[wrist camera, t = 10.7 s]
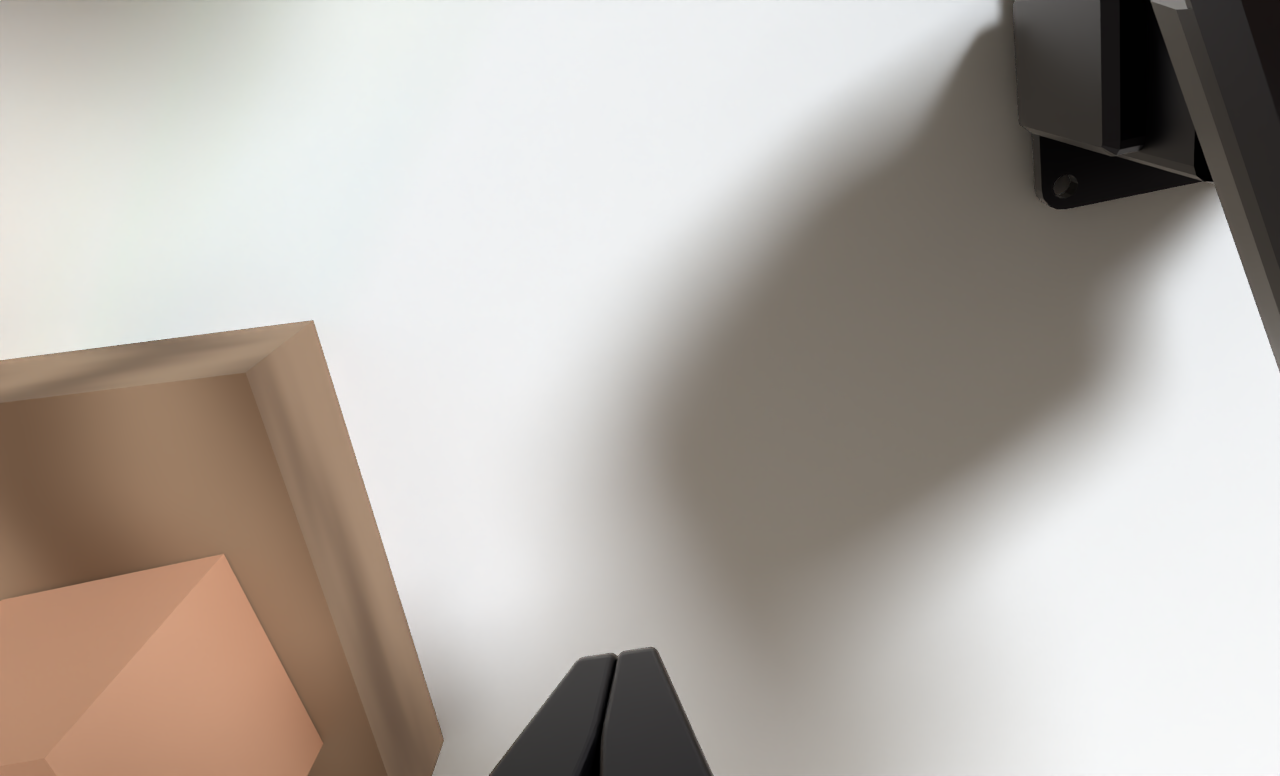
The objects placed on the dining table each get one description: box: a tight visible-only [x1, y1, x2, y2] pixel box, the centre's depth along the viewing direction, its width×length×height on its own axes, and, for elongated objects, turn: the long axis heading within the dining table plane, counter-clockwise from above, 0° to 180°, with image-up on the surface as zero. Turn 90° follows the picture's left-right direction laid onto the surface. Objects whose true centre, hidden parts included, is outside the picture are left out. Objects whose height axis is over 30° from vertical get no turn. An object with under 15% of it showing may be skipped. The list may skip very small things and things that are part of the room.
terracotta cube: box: [0, 554, 323, 776], centre depth 18 cm, size 6×6×6 cm
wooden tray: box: [0, 320, 444, 776], centre depth 23 cm, size 10×14×4 cm
